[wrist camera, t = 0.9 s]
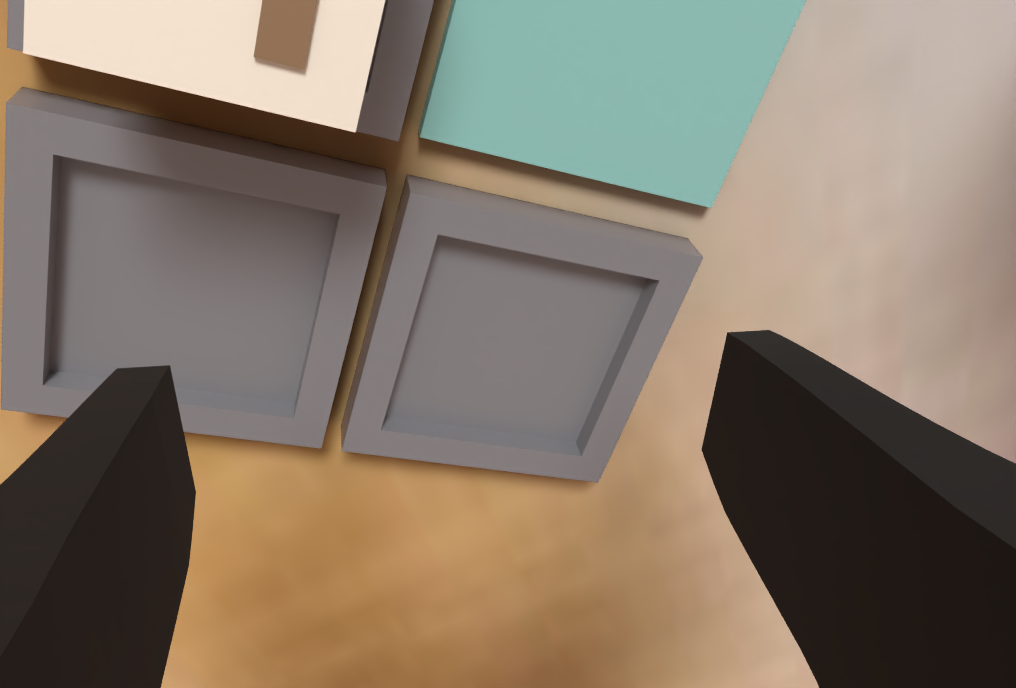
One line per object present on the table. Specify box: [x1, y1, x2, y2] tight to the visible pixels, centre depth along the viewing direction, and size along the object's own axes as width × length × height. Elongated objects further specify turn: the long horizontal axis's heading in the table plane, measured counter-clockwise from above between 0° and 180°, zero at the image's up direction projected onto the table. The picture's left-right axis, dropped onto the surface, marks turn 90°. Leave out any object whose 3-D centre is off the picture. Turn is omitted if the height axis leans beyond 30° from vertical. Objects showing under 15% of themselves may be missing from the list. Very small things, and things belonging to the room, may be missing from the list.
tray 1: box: [1, 87, 387, 449], centre depth 18 cm, size 7×7×1 cm
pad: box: [418, 0, 806, 208], centre depth 17 cm, size 7×7×1 cm
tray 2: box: [341, 175, 703, 482], centre depth 21 cm, size 7×7×1 cm
